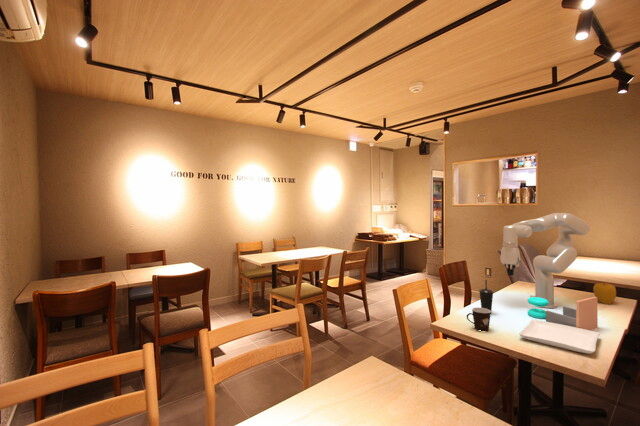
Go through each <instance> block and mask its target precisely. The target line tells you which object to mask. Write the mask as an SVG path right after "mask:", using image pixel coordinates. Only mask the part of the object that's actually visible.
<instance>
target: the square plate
mask: <svg viewBox="0 0 640 426" xmlns="http://www.w3.org/2000/svg"><path fill="white" fill-rule="evenodd" d="M519 335H520V336H521V338H523V339H526V340H528V341H532V342H535V343H539V344H544V345H548V346H551V347H554V348H555V347H556V348H560V349H563V350H569V351H573V352H578V353H582V354H593V353H595V352H596V348H597V342H598V339H599V336H600V335H601V333H600V332H598V331H594V330H591V331H590V330H585V329H580V328H576V327H571V326H566V325H561V324H556V323H550V322H546V320H545V321H544V320H537V319H531V320H530V321H529V323H528V324H527V325H526V326H525V327H524V328H523V329H522V330H521V331H520V333H519Z"/></svg>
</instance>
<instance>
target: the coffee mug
mask: <svg viewBox="0 0 640 426" xmlns="http://www.w3.org/2000/svg"><path fill="white" fill-rule="evenodd" d="M471 310H472V312H470V313H467V315H466V319H467V321H469V322H470V323H472V324H473V325H474V326H473V327H474V329H477V330H481V331H487V332H489V331H488V330H490V324H491V323H490V321H491V315H492V310H491V311H490V310H489V309H485V308H481V307H472V309H471ZM490 314H491V315H490ZM470 315H472V319H473V321H471V320H470V319H469V316H470ZM477 330H476V331H477ZM481 331H480V332H481Z"/></svg>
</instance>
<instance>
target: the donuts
mask: <svg viewBox="0 0 640 426" xmlns="http://www.w3.org/2000/svg"><path fill="white" fill-rule="evenodd" d="M527 302H528V304H530V305H531V306H535V307H538V306H539V307H538V308H535V307H534V308H530V309H528V310H527V314H528V316H530V317H532V318H536V319H546V311H547V310H545V309H542V308H543V307H544V306H547V305H548V304H549V302H548V300H546V299H544V298H539V297H530V296H529V297H528V298H527Z"/></svg>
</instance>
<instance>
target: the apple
mask: <svg viewBox="0 0 640 426" xmlns="http://www.w3.org/2000/svg"><path fill="white" fill-rule="evenodd" d="M592 288H593V295H594V297H597V302H598V303H601V304H604V305H610V304H613V302H614V301H615V299H616V298H617V289H616V286H615V285H613V284H611V283H606V282H599V283H598V282H597V283H595V284H594V285H593V287H592Z"/></svg>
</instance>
